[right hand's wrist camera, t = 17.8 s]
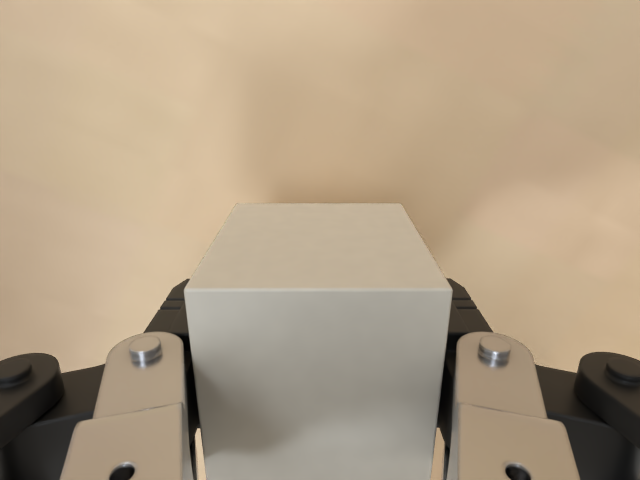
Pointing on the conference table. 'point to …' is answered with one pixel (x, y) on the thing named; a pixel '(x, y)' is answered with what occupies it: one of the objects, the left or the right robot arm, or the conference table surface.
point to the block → (318, 344)
